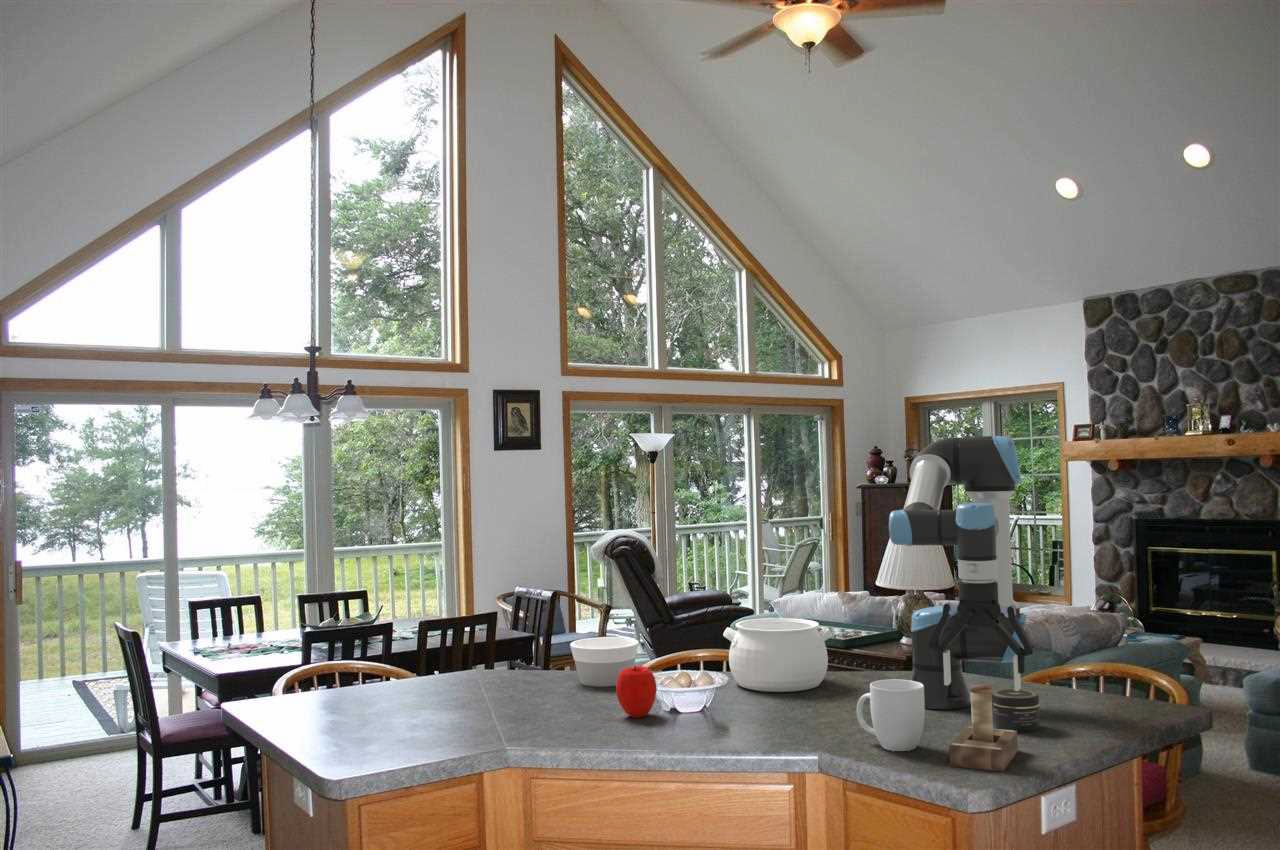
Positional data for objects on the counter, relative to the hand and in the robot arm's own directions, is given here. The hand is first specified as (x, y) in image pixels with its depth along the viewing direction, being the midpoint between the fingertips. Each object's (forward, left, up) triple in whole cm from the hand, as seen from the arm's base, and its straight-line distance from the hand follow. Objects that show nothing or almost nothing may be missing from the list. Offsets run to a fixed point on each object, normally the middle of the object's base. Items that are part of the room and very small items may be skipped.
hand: (982, 686), depth 213 cm
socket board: (0, 0, -14) cm, 14 cm away
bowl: (-109, +36, -14) cm, 116 cm away
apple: (-81, +4, -14) cm, 83 cm away
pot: (-63, +50, -14) cm, 82 cm away
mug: (-18, +1, -14) cm, 23 cm away
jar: (+2, +27, -14) cm, 30 cm away
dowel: (0, 0, -14) cm, 14 cm away
